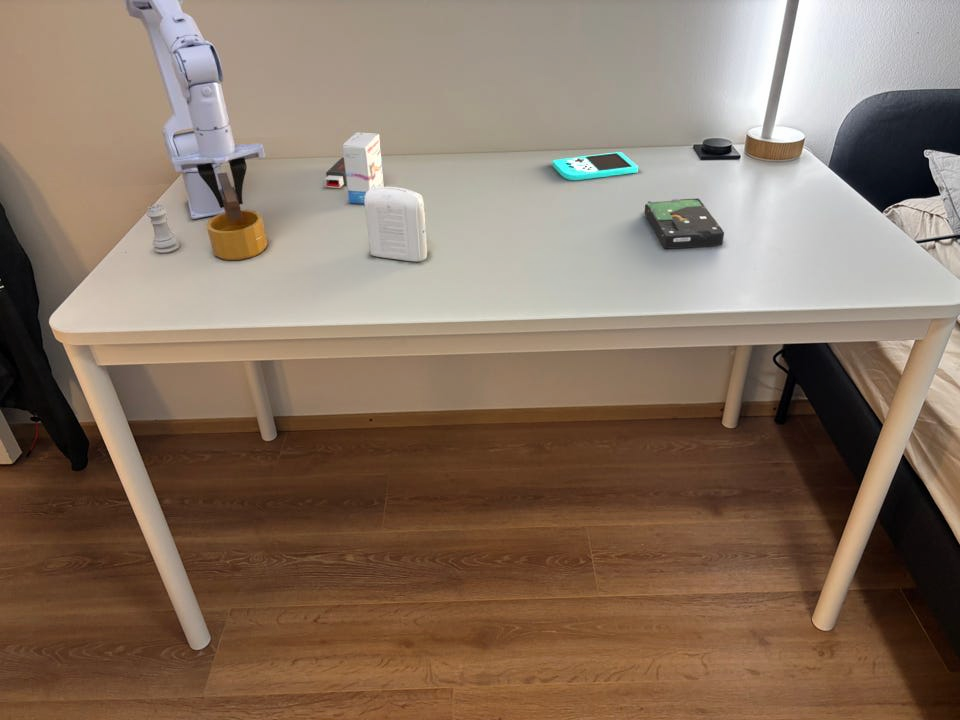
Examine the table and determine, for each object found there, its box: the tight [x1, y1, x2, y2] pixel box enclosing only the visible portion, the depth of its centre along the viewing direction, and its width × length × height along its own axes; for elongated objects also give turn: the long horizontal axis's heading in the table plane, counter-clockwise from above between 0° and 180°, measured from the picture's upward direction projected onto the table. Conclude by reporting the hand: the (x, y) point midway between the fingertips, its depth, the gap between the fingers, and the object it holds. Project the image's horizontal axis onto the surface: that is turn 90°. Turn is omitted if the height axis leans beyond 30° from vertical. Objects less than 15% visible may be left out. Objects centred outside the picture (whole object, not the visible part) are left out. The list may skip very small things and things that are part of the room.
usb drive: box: [324, 157, 347, 189], centre depth 158 cm, size 5×12×3 cm, turn 167°
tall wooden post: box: [217, 171, 243, 221], centre depth 127 cm, size 14×2×5 cm, turn 23°
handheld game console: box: [551, 151, 639, 181], centre depth 158 cm, size 10×16×1 cm, turn 104°
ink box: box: [342, 131, 385, 205], centre depth 147 cm, size 9×5×12 cm, turn 168°
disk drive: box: [644, 198, 725, 249], centre depth 132 cm, size 10×3×15 cm
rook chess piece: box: [146, 204, 181, 255], centre depth 131 cm, size 4×4×8 cm
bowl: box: [205, 209, 269, 261], centre depth 131 cm, size 9×9×6 cm
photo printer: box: [363, 186, 428, 263], centre depth 125 cm, size 10×4×12 cm, turn 72°
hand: (230, 204), depth 128 cm, fingers closed on tall wooden post, 2 cm apart
